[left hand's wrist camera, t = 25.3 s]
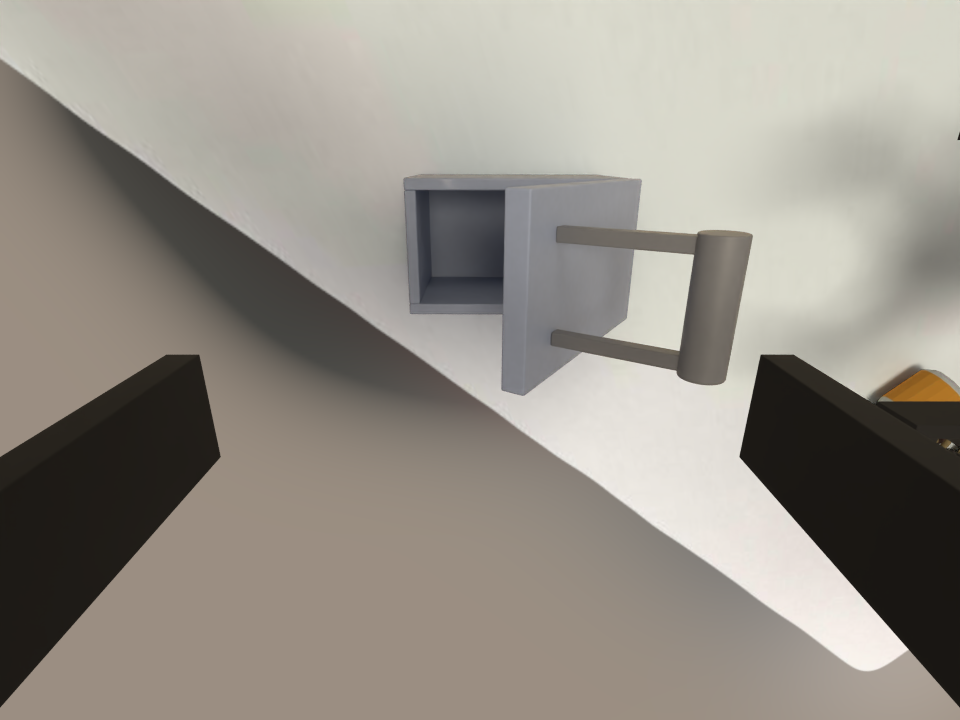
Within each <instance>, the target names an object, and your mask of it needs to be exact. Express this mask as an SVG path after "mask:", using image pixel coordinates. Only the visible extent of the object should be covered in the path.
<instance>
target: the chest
mask: <svg viewBox="0 0 960 720" xmlns="http://www.w3.org/2000/svg"><path fill="white" fill-rule="evenodd" d="M613 179H628V178H620V177H611V176H602V175H426V174H421V175H416V176H412V177H407V178H404V190H405V191H404V196H405V217H406V238H407V259H408V279H409V300H410V314H503V281H504V227H505V189H506V188H508V187H521V186H534V185H547V184H560V183H574V182H587V181H600V180H613Z"/></svg>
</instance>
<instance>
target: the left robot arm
mask: <svg viewBox="0 0 960 720" xmlns="http://www.w3.org/2000/svg"><path fill="white" fill-rule="evenodd" d="M220 457H221V456H220V452H219V447H218V442H217V437H216V433H215V428H214V423H213V419H212V414H211V409H210V404H209V399H208V394H207V390H206V385H205V380H204V375H203V370H202V366H201V361H200V356H199V355H165V356H164V357H162V358H160V359H159V360H157V361H156V362H154V363H152V364H151V365H149V366H147V367H146V368H144V369H143V370H141V371H139V372H138V373H136V374H134V375H133V376H131V377H130V378H128V379H126V380H125V381H123V382H121V383H120V384H118V385H116V386H115V387H113V388H112V389H110V390H108V391H107V392H105V393H103V394H102V395H100V396H99V397H97V398H95V399H94V400H92V401H90V402H89V403H87V404H86V405H84V406H82V407H81V408H79V409H78V410H76V411H74V412H73V413H71V414H69V415H68V416H66V417H64V418H63V419H61V420H60V421H58V422H56V423H55V424H53V425H51V426H50V427H48V428H47V429H45V430H43V431H42V432H40V433H39V434H37V435H35V436H34V437H32V438H30V439H29V440H27V441H25V442H24V443H22V444H21V445H19V446H17V447H16V448H14V449H13V450H11V451H9V452H8V453H6V454H4V455H3V456H1V457H0V707H1V706H2V705H3V704H4V703H5V701H6V700H7V699H8V698H9V697H10V696H11V695H12V693H13V692H14V691H15V690H16V689H17V688H18V687H19V686H20V684H21V683H22V682H23V681H24V680H25V679H26V678H27V676H28V675H29V674H30V673H31V672H32V671H33V670H34V668H35V667H36V666H37V665H38V664H39V663H40V662H41V660H42V659H43V658H44V657H45V656H46V655H47V654H48V653H49V651H50V650H51V649H52V648H53V647H54V646H55V645H56V643H57V642H58V641H59V640H60V639H61V638H62V637H63V635H64V634H65V633H66V632H67V631H68V630H69V629H70V628H71V626H72V625H73V624H74V623H75V622H76V621H77V620H78V618H79V617H80V616H81V615H82V614H83V613H84V612H85V610H86V609H87V608H88V607H89V606H90V605H91V604H92V602H93V601H94V600H95V599H96V598H97V597H98V596H99V595H100V593H101V592H102V591H103V590H104V589H105V588H106V587H107V585H108V584H109V583H110V582H111V581H112V580H113V579H114V578H115V576H116V575H117V574H118V573H119V572H120V571H121V570H122V568H123V567H124V566H125V565H126V564H127V563H128V562H129V560H130V559H131V558H132V557H133V556H134V555H135V554H136V552H137V551H138V550H139V549H140V548H141V547H142V546H143V545H144V543H145V542H146V541H147V540H148V539H149V538H150V536H151V535H152V534H153V533H154V532H155V531H156V530H157V529H158V527H159V526H160V525H161V524H162V523H163V522H164V521H165V520H166V518H167V517H168V516H169V515H170V514H171V513H172V512H173V510H174V509H175V508H176V507H177V506H178V505H179V504H180V502H181V501H182V500H183V499H184V498H185V497H186V496H187V494H188V493H189V492H190V491H191V490H192V489H193V488H194V486H195V485H196V484H197V483H198V482H199V481H200V480H201V479H202V477H203V476H204V475H205V474H206V473H207V472H208V471H209V469H210V468H211V467H212V466H213V465H214V464H215V463H216V462H217V460H218V459H219V458H220ZM739 457H740V458H741V459H742V460H743V462H744V463H745V464H746V465H747V466H748V467H749V468H750V469H751V471H752V472H753V473H754V474H755V475H756V476H757V477H758V479H759V480H760V481H761V482H762V483H763V484H764V485H765V487H766V488H767V489H768V490H769V491H770V492H771V493H772V494H773V496H774V497H775V498H776V499H777V500H778V501H779V502H780V504H781V505H782V506H783V507H784V508H785V509H786V510H787V512H788V513H789V514H790V515H791V516H792V517H793V518H794V520H795V521H796V522H797V523H798V524H799V525H800V526H801V527H802V529H803V530H804V531H805V532H806V533H807V534H808V535H809V537H810V538H811V539H812V540H813V541H814V542H815V543H816V545H817V546H818V547H819V548H820V549H821V550H822V551H823V552H824V554H825V555H826V556H827V557H828V558H829V559H830V560H831V562H832V563H833V564H834V565H835V566H836V567H837V568H838V570H839V571H840V572H841V573H842V574H843V575H844V576H845V578H846V579H847V580H848V581H849V582H850V583H851V584H852V585H853V587H854V588H855V589H856V590H857V591H858V592H859V593H860V595H861V596H862V597H863V598H864V599H865V600H866V601H867V603H868V604H869V605H870V606H871V607H872V608H873V609H874V610H875V612H876V613H877V614H878V615H879V616H880V617H881V618H882V620H883V621H884V622H885V623H886V624H887V625H888V626H889V628H890V629H891V630H892V631H893V632H894V633H895V634H896V635H897V637H898V638H899V639H900V640H901V641H902V642H903V643H904V645H905V646H906V647H907V648H908V649H909V650H910V651H911V653H912V654H913V655H914V656H915V657H916V658H917V659H918V660H919V662H920V663H921V664H922V665H923V666H924V667H925V668H926V670H927V671H928V672H929V673H930V674H931V675H932V676H933V678H934V679H935V680H936V681H937V682H938V683H939V684H940V686H941V687H942V688H943V689H944V690H945V691H946V692H947V693H948V695H949V696H950V697H951V698H952V699H953V700H954V701H955V703H956V704H957V705H958V706H959V707H960V457H959V456H957V455H956V454H954V453H952V452H951V451H949V450H948V449H946V448H944V447H943V446H941V445H939V444H938V443H936V442H935V441H933V440H931V439H930V438H928V437H926V436H925V435H923V434H922V433H920V432H918V431H917V430H915V429H913V428H912V427H910V426H909V425H907V424H905V423H904V422H902V421H900V420H899V419H897V418H896V417H894V416H892V415H891V414H889V413H887V412H886V411H884V410H883V409H881V408H879V407H878V406H876V405H874V404H873V403H871V402H870V401H868V400H866V399H865V398H863V397H861V396H860V395H858V394H857V393H855V392H853V391H852V390H850V389H848V388H847V387H845V386H844V385H842V384H840V383H839V382H837V381H835V380H834V379H832V378H831V377H829V376H827V375H826V374H824V373H822V372H821V371H819V370H817V369H816V368H814V367H813V366H811V365H809V364H808V363H806V362H804V361H803V360H801V359H800V358H798V357H796V356H795V355H761V356H760V361H759V366H758V370H757V375H756V380H755V385H754V390H753V394H752V399H751V404H750V409H749V413H748V418H747V423H746V428H745V433H744V437H743V442H742V447H741V452H740V456H739Z"/></svg>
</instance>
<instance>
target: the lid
mask: <svg viewBox="0 0 960 720" xmlns="http://www.w3.org/2000/svg"><path fill="white" fill-rule="evenodd" d="M641 182H642V180H641V179H613V180H600V181H587V182H574V183H560V184H547V185H534V186H521V187H508V188H506V189H505V227H504V281H503V334H502V388H501V389H502V390H503V391H506V392H510V393H514V394H518V395H522V396H524V395H525V394H527V393H528V392H529V391H531V390H532V389H533V388H535V387H536V386H537V385H539V384H540V383H541V382H543V381H544V380H545V379H547V378H548V377H549V376H551V375H552V374H553V373H555V372H556V371H557V370H559V369H560V368H561V367H563V366H564V365H565V364H567V363H568V362H569V361H571V360H572V359H573V358H575V357H576V356H577V355H579V354H580V353H581V352H585V353H590V354H595V355H600V356H605V357H611V358H616V359H621V360H626V361H631V362H636V363H641V364H646V365H651V366H656V367H661V368H666V369H671V370H676V371H677V375H678V376H679V377H680V378H681V379H683V380H685V381H688V382H691V383H695V384H700V385H718V384H722V383H723V382H725V380H726V376H727V370H728V365H729V360H730V354H731V349H732V344H733V339H734V333H735V328H736V323H737V317H738V312H739V307H740V301H741V296H742V291H743V286H744V280H745V275H746V270H747V264H748V259H749V254H750V249H751V243H752V238H753V235H752V234H750V233H745V232H738V231H726V230H705V231H700V232H698V233H697V234H685V233H671V232H656V231H642V230H636V228H637V218H638V209H639V200H640V191H641ZM634 249H637V250H648V251H659V252H671V253H682V254H694V260H693V266H692V273H691V280H690V286H689V293H688V300H687V306H686V313H685V320H684V326H683V333H682V339H681V346H680V351H676V350H670V349H665V348H659V347H654V346H648V345H642V344H637V343H631V342H626V341H620V340H615V339H609V338H604V337H603V336H604V335H605V334H607V333H608V332H609V331H611V330H612V329H613V328H614V327H616V326H617V325H618V324H620V323H621V322H622V321H624V320H625V319H626V318H627V311H628V301H629V292H630V283H631V274H632V265H633V255H634Z"/></svg>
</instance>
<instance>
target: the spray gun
mask: <svg viewBox="0 0 960 720" xmlns="http://www.w3.org/2000/svg"><path fill="white" fill-rule="evenodd" d="M878 401H960V387H959V386H958V385H957V384H956V383H955V382H954V381H952V380H951V379H950V378H948V377H947V376H946V375H944V374H943V373H941V372H939V371H936V370H920V371H919V372H917V373H916V374H914V375H913V376H911V377H910V378H908V379H907V380H905V381H904V382H902V383H901V384H899V385H898V386H897V387H895V388H894V389H892V390H891V391H889V392H888V393H886V394H885V395H883V396H882V397H881V398H880V399H879V400H878ZM931 440H933V441H935V442H936V443H938V444H941V446H943V447H944V448H947V447H948V446H949V445H950V444H951V442H950V441H949V440H947V439H931ZM949 451H951V452H952V453H954V454H956V455H957V456H959V457H960V450H959V451H958V452H956V451H954V450H952V449H951V450H949Z"/></svg>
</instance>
